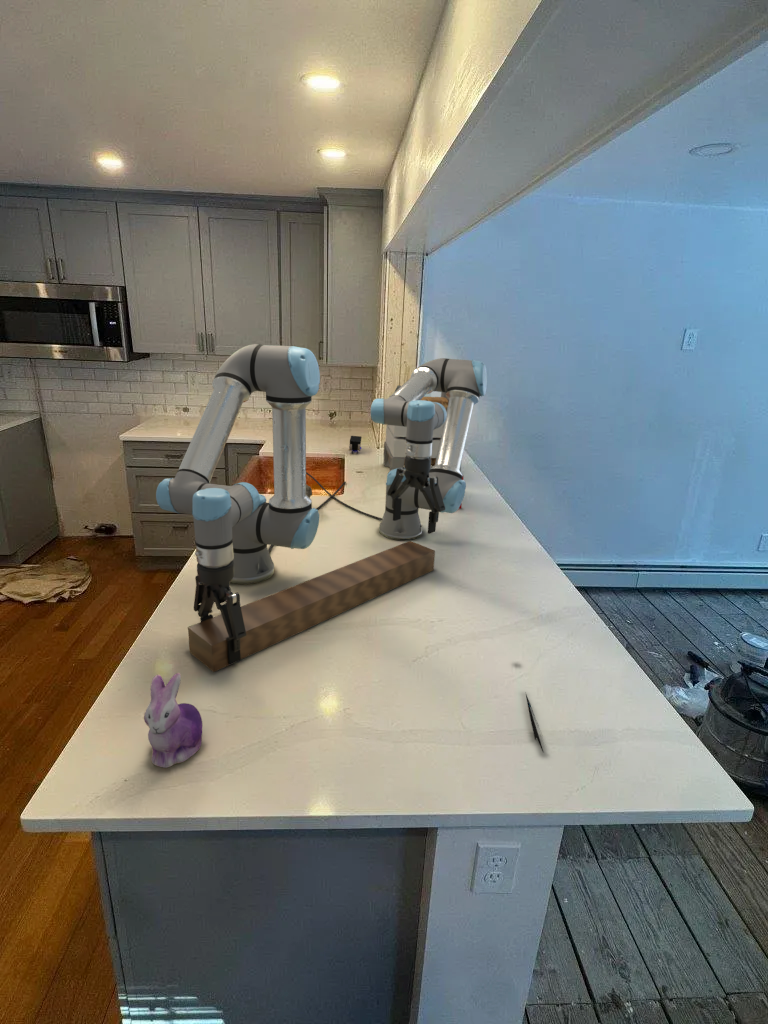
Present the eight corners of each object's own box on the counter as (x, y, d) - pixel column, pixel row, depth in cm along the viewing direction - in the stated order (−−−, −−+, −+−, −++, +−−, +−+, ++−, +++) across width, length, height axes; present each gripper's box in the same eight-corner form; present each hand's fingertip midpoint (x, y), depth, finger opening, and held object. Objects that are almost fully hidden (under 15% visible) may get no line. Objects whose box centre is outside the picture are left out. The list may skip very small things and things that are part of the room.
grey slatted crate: (382, 463, 289) (386, 382, 275) (445, 464, 293) (451, 384, 279) (390, 482, 257) (394, 392, 243) (460, 483, 261) (468, 394, 247)
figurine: (152, 779, 93) (143, 704, 88) (145, 738, 102) (136, 668, 97) (210, 760, 98) (205, 688, 92) (199, 723, 106) (193, 655, 101)
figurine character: (361, 457, 304) (361, 447, 317) (361, 444, 301) (362, 434, 314) (348, 456, 304) (349, 447, 317) (348, 443, 300) (349, 434, 314)
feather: (517, 669, 129) (522, 662, 128) (543, 757, 102) (550, 750, 102) (511, 665, 129) (516, 659, 128) (535, 752, 102) (542, 745, 101)
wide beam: (408, 559, 180) (410, 540, 177) (433, 570, 173) (435, 550, 171) (189, 652, 127) (187, 627, 125) (213, 672, 121) (211, 645, 119)
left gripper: (172, 549, 125) (180, 637, 132) (229, 585, 110) (234, 681, 118) (203, 541, 130) (209, 625, 137) (261, 573, 115) (264, 666, 123)
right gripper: (377, 449, 166) (374, 517, 173) (445, 467, 150) (438, 541, 158) (394, 446, 171) (391, 512, 179) (461, 463, 156) (455, 534, 163)
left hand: (221, 651), depth 127 cm, fingers closed on wide beam, 10 cm apart
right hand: (413, 525), depth 168 cm, fingers open, 13 cm apart
